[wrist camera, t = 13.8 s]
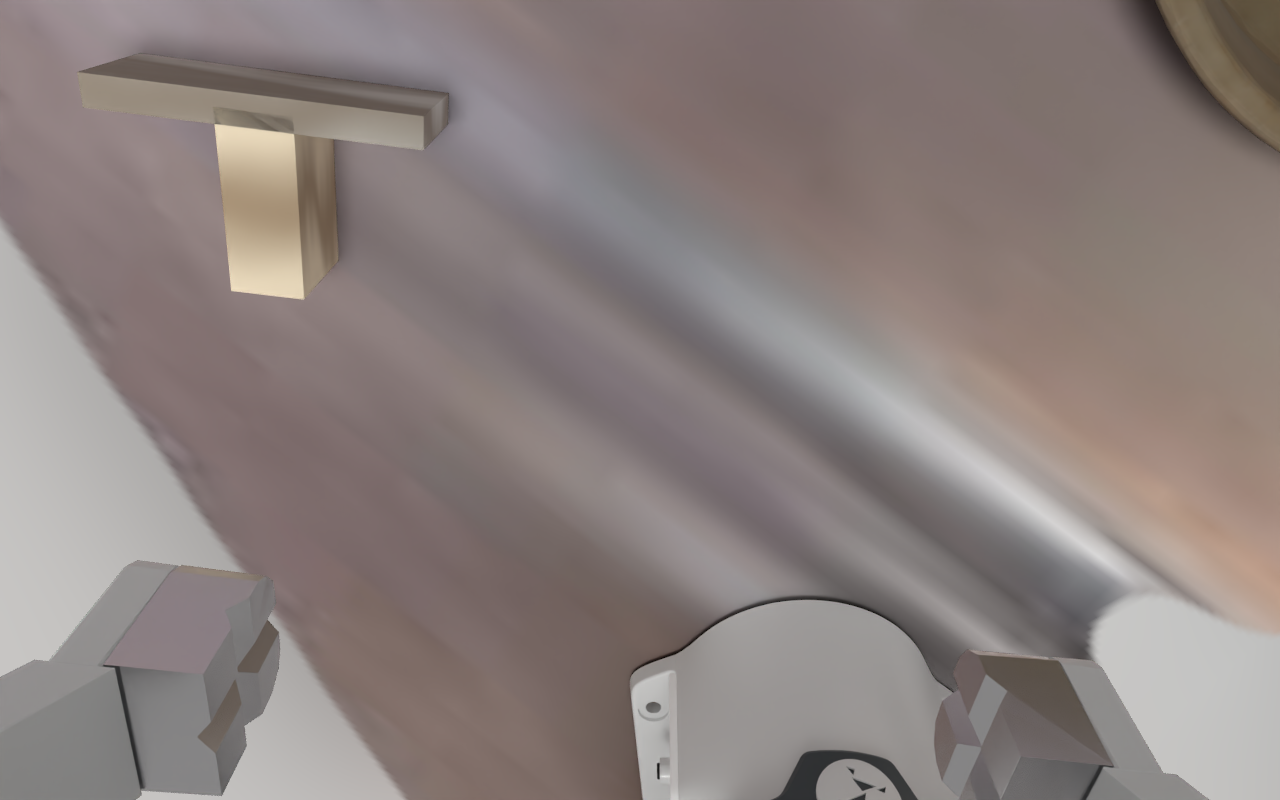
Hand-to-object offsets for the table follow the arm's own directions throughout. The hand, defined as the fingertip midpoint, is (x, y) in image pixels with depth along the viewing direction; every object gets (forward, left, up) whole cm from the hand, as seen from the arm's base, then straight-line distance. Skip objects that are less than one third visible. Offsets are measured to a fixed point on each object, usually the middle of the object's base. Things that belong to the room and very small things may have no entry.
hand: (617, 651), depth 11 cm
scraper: (-4, +14, -29) cm, 33 cm away
